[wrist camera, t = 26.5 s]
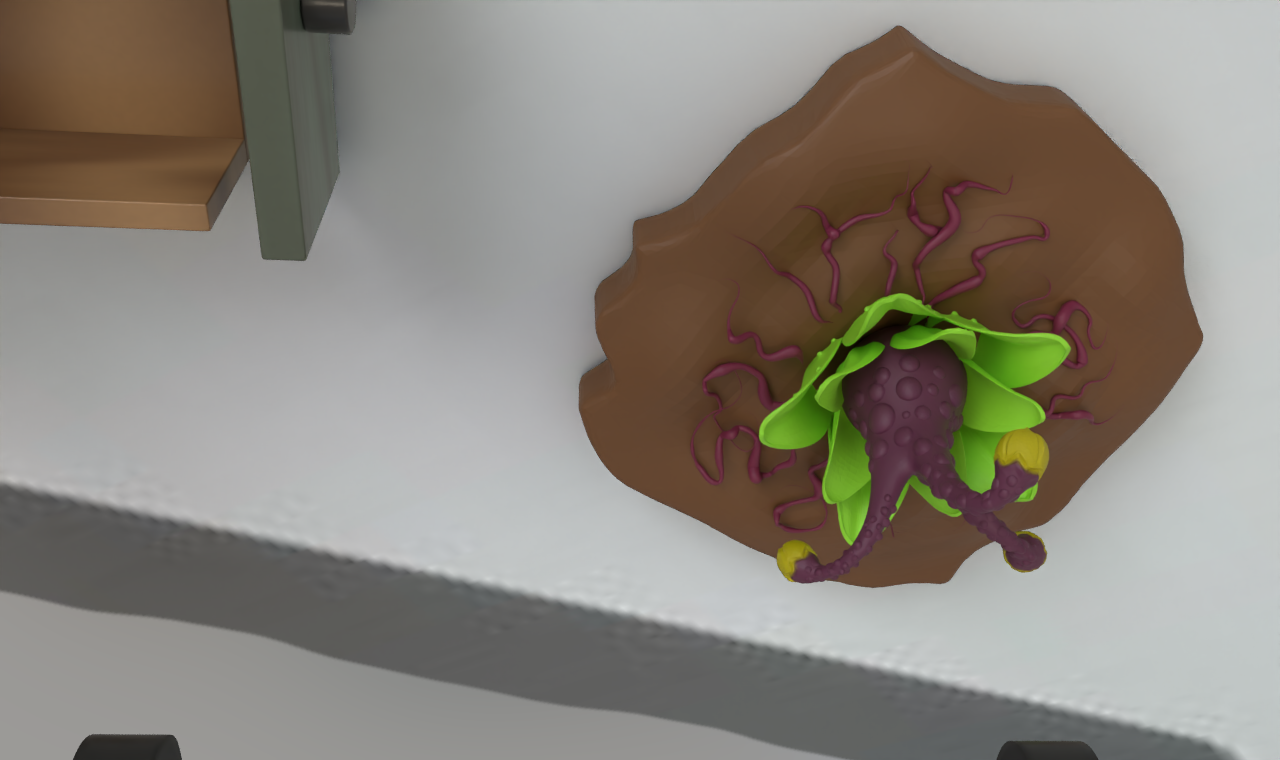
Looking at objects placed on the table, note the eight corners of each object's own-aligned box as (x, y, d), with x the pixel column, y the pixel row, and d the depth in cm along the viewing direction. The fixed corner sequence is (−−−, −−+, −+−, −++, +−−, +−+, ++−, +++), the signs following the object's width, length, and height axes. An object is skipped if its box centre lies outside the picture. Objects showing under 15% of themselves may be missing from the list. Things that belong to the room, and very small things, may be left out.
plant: (1279, 270, 42) (1484, 467, 32) (899, 603, 50) (976, 835, 41) (865, -74, 34) (976, 53, 25) (501, 383, 43) (483, 606, 33)
